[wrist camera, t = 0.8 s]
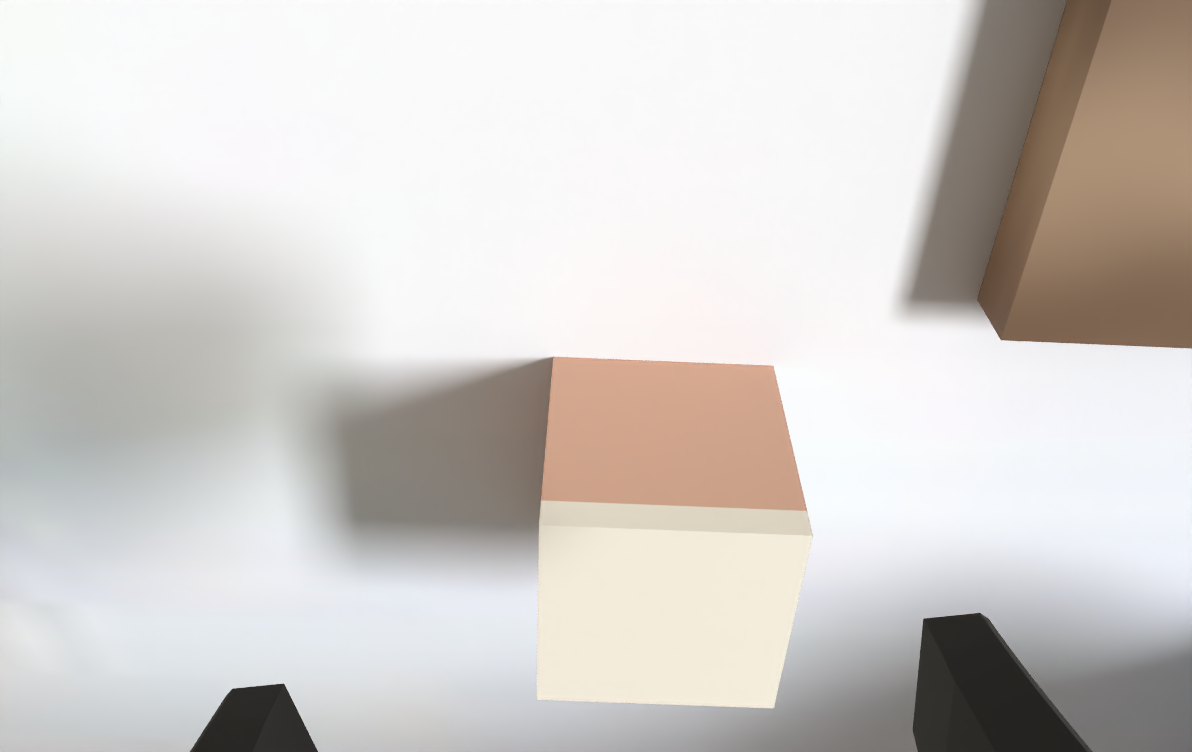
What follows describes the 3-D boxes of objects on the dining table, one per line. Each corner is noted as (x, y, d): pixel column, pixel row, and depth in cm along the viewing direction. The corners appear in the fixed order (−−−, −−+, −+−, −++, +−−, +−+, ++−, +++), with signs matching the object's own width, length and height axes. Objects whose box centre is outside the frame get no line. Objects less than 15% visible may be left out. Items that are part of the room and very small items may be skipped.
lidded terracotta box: (745, 525, 23) (773, 708, 19) (549, 518, 23) (536, 699, 19) (772, 364, 21) (812, 536, 17) (553, 354, 21) (539, 525, 16)
